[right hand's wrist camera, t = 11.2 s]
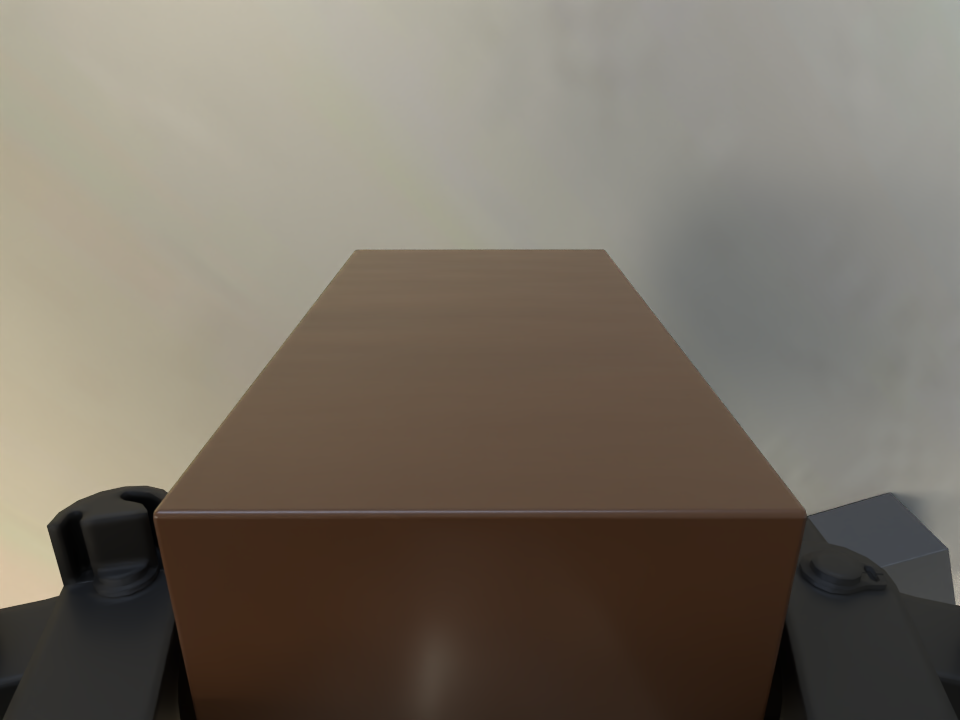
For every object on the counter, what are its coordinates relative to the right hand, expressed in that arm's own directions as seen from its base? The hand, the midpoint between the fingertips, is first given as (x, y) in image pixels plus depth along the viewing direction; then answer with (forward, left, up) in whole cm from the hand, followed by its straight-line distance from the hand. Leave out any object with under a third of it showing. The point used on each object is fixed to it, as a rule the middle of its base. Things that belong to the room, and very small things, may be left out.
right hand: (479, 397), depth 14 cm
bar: (0, -10, 0) cm, 10 cm away
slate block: (+17, -13, -13) cm, 25 cm away
